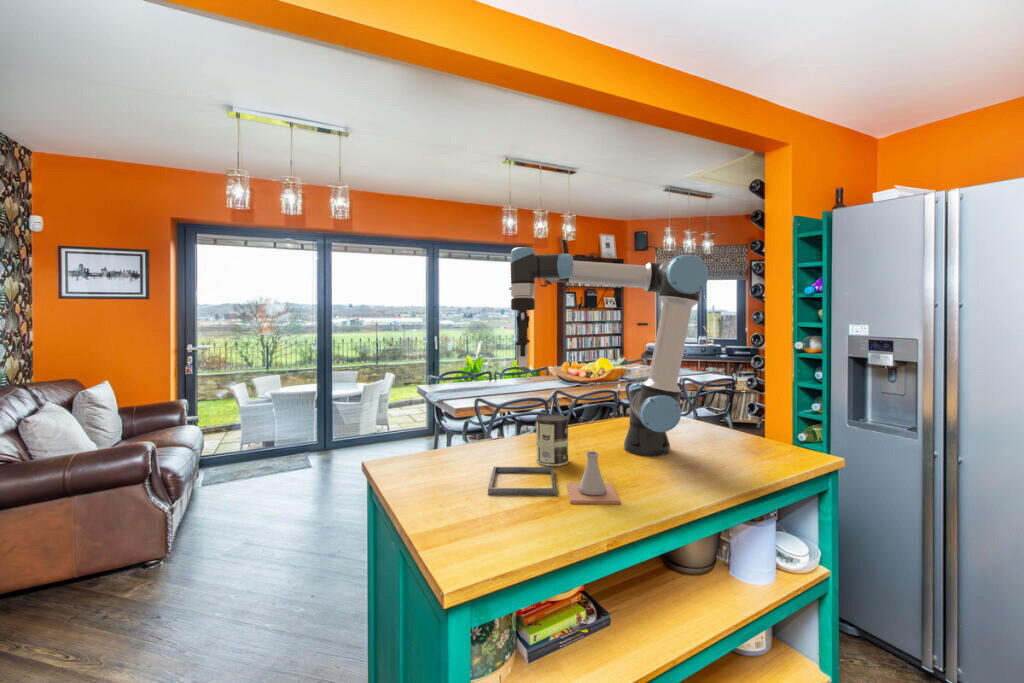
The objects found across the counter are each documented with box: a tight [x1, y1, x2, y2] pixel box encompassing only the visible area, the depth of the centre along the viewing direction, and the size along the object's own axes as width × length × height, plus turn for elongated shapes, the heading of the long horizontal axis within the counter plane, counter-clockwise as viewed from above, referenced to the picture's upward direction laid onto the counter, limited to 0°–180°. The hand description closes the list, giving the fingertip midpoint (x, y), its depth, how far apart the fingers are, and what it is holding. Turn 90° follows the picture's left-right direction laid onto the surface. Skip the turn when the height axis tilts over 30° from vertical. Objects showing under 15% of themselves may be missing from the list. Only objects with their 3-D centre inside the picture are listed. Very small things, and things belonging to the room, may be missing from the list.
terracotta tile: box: [566, 482, 621, 505], centre depth 117 cm, size 12×12×1 cm
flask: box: [578, 450, 606, 495], centre depth 117 cm, size 7×7×10 cm
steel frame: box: [487, 466, 557, 496], centre depth 126 cm, size 18×18×2 cm
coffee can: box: [535, 413, 569, 467], centre depth 144 cm, size 10×10×14 cm
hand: (523, 364), depth 144 cm, fingers open, 13 cm apart
